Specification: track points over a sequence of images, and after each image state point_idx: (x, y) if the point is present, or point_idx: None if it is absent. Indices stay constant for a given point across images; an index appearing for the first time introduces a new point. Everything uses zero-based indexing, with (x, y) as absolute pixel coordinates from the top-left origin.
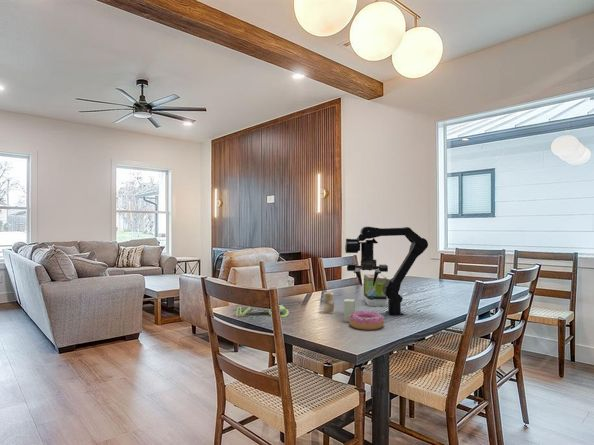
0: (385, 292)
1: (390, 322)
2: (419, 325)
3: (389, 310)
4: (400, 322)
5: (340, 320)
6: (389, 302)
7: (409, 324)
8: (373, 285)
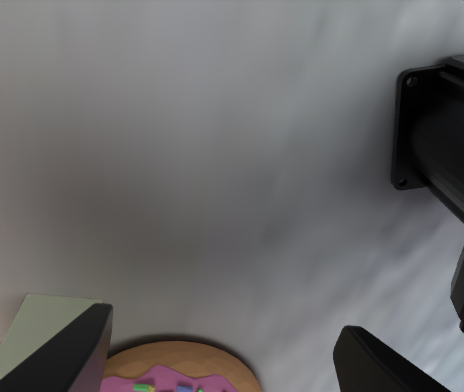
0: (460, 326)
1: (322, 337)
2: (455, 371)
3: (416, 159)
4: (381, 333)
5: (3, 322)
6: (458, 196)
7: (413, 361)
8: (341, 373)
